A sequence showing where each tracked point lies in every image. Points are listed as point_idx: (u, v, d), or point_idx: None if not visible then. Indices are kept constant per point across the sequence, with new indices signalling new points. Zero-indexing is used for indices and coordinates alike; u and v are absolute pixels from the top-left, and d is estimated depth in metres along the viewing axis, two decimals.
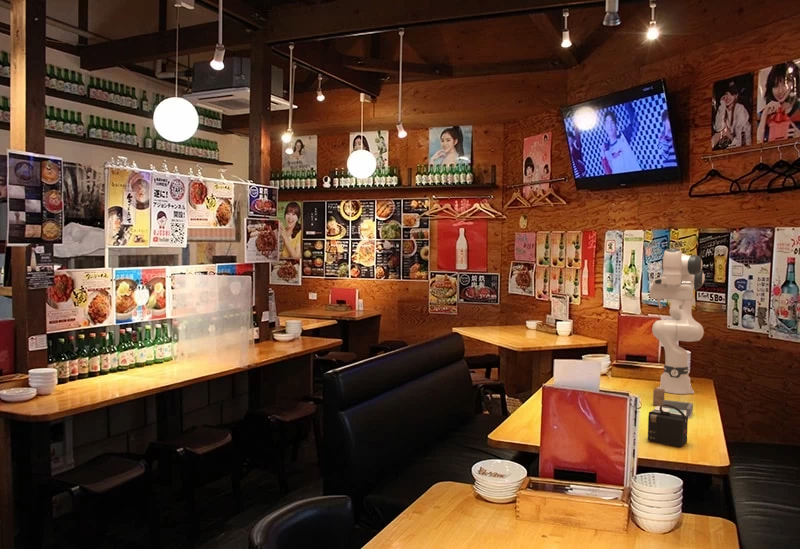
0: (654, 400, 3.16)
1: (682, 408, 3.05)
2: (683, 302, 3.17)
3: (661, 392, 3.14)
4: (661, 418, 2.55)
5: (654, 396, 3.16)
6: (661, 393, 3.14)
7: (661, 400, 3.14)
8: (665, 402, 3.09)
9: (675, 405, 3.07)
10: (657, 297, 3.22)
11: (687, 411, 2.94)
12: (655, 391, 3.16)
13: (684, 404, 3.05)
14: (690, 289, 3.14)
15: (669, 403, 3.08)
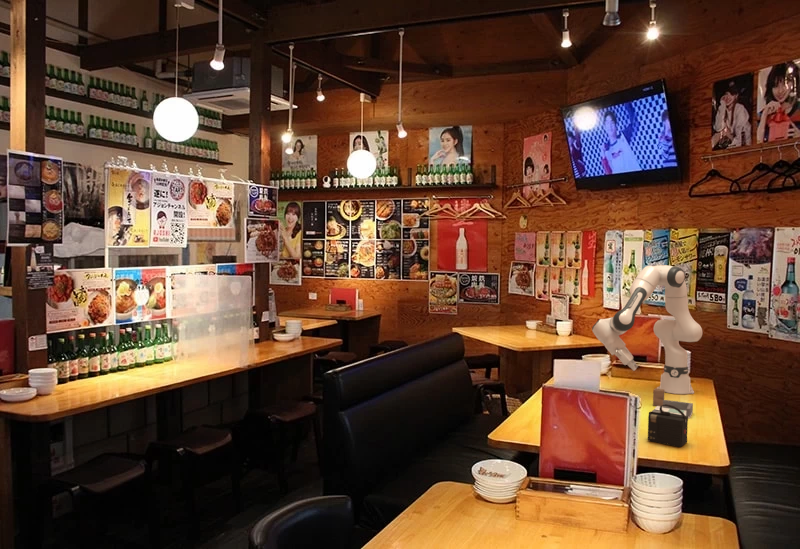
0: (654, 400, 3.16)
1: (682, 408, 3.05)
2: None
3: (661, 392, 3.14)
4: (661, 418, 2.55)
5: (654, 396, 3.16)
6: (661, 393, 3.14)
7: (661, 400, 3.14)
8: (665, 402, 3.09)
9: (675, 405, 3.07)
10: None
11: (687, 411, 2.94)
12: (655, 391, 3.16)
13: (684, 404, 3.05)
14: (617, 356, 3.17)
15: (669, 403, 3.08)
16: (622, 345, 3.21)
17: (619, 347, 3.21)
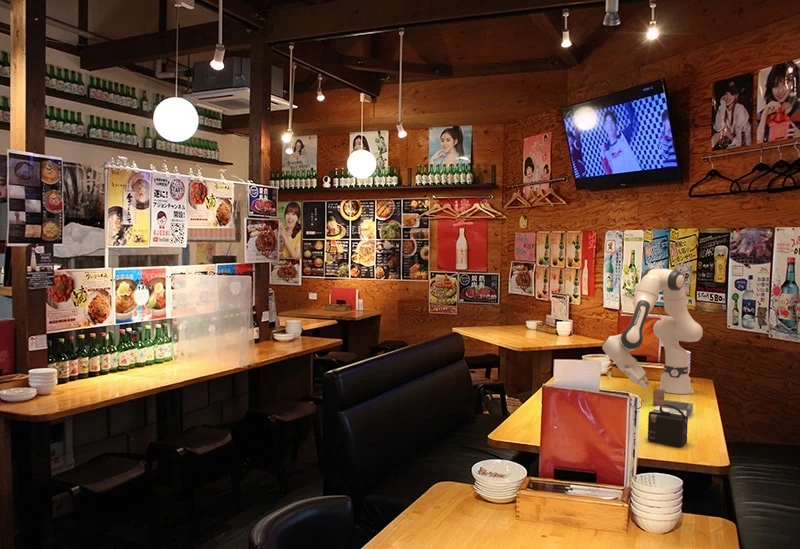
0: (654, 400, 3.16)
1: (682, 408, 3.05)
2: (638, 383, 3.16)
3: (661, 392, 3.14)
4: (661, 418, 2.55)
5: (654, 396, 3.16)
6: (661, 393, 3.14)
7: (661, 400, 3.14)
8: (665, 402, 3.09)
9: (675, 405, 3.07)
10: None
11: (687, 411, 2.94)
12: (655, 391, 3.16)
13: (684, 404, 3.05)
14: None
15: (669, 403, 3.08)
16: (632, 362, 3.20)
17: (629, 365, 3.20)
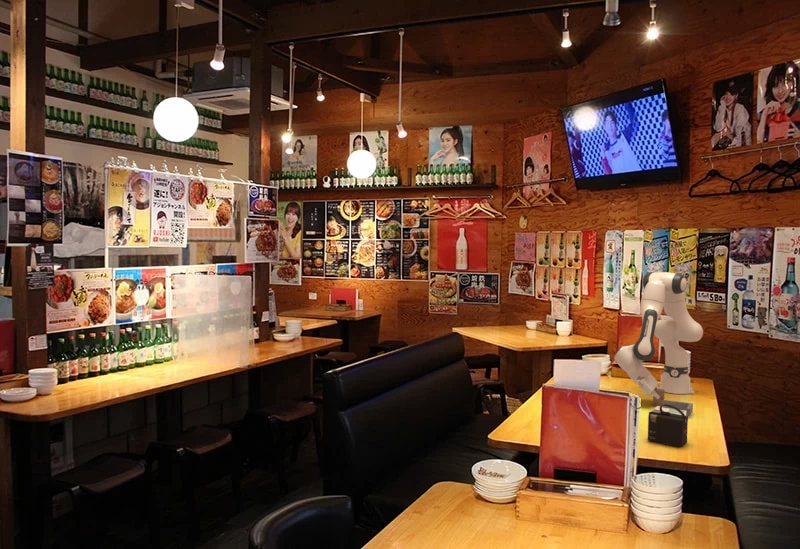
0: (654, 400, 3.16)
1: (682, 408, 3.05)
2: (652, 394, 3.15)
3: (661, 392, 3.14)
4: (661, 418, 2.55)
5: None
6: (661, 393, 3.14)
7: (661, 400, 3.14)
8: (665, 402, 3.09)
9: (675, 405, 3.07)
10: None
11: (687, 411, 2.94)
12: None
13: (684, 404, 3.05)
14: (639, 386, 3.13)
15: (669, 403, 3.08)
16: (645, 373, 3.17)
17: (642, 376, 3.17)
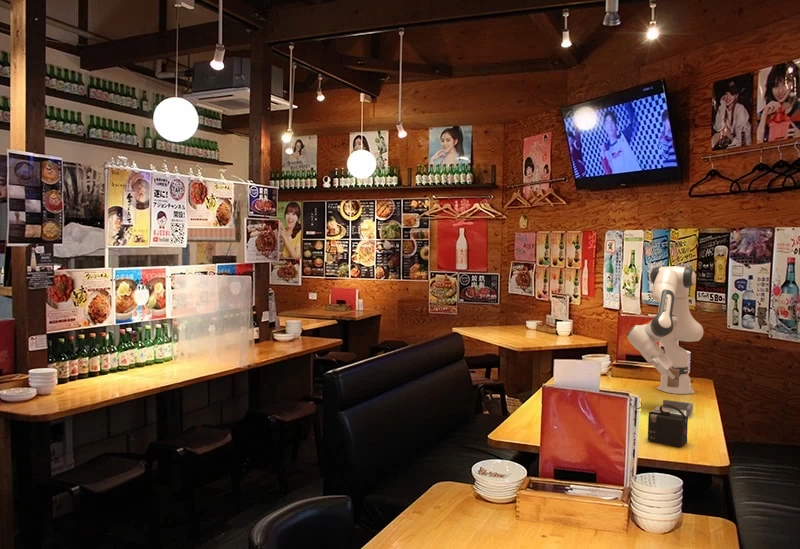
0: (668, 380, 3.03)
1: (682, 408, 3.05)
2: (666, 374, 3.02)
3: (676, 372, 3.01)
4: (661, 418, 2.55)
5: None
6: (676, 372, 3.01)
7: (676, 380, 3.02)
8: (665, 402, 3.09)
9: (675, 405, 3.07)
10: None
11: (687, 411, 2.94)
12: (670, 371, 3.03)
13: (684, 404, 3.05)
14: (653, 365, 3.00)
15: (669, 403, 3.08)
16: (659, 353, 3.04)
17: (656, 355, 3.04)
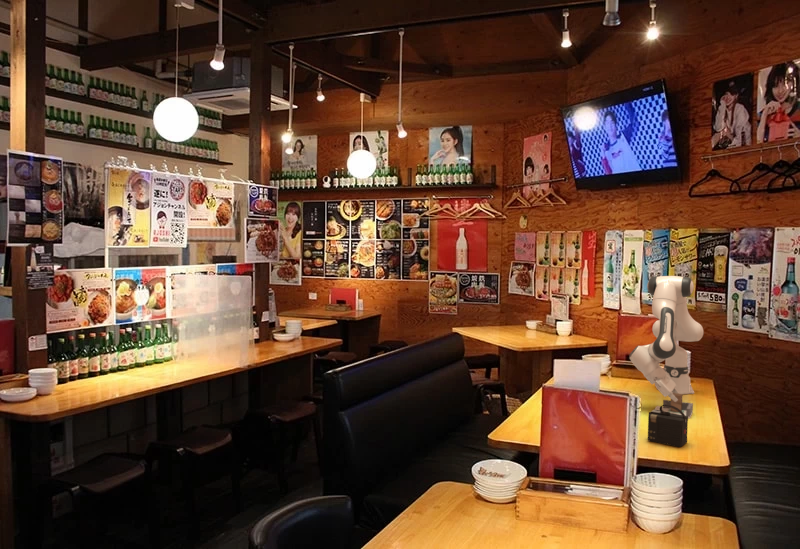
0: (672, 405, 3.01)
1: (682, 408, 3.05)
2: (669, 396, 2.98)
3: (679, 397, 3.00)
4: (661, 418, 2.55)
5: (671, 400, 3.01)
6: (679, 397, 3.00)
7: (679, 405, 3.00)
8: (665, 402, 3.09)
9: None
10: None
11: (687, 411, 2.94)
12: None
13: (684, 404, 3.05)
14: (656, 387, 2.98)
15: (669, 403, 3.08)
16: (662, 374, 3.02)
17: (659, 376, 3.02)
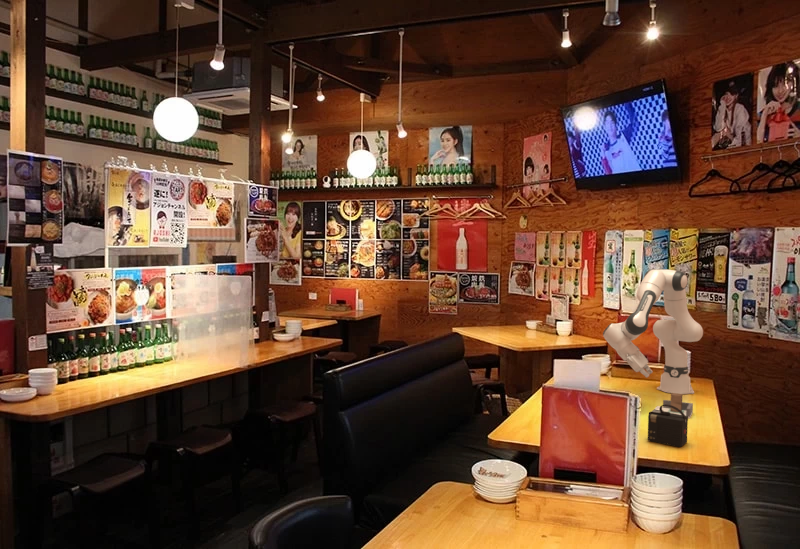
0: (672, 405, 3.01)
1: (682, 408, 3.05)
2: (640, 372, 3.04)
3: (679, 397, 3.00)
4: (661, 418, 2.55)
5: (671, 400, 3.01)
6: (679, 397, 3.00)
7: (679, 405, 3.00)
8: (665, 402, 3.09)
9: None
10: None
11: (687, 411, 2.94)
12: (673, 396, 3.01)
13: (684, 404, 3.05)
14: (628, 363, 3.04)
15: (669, 403, 3.08)
16: (634, 351, 3.08)
17: (631, 353, 3.08)
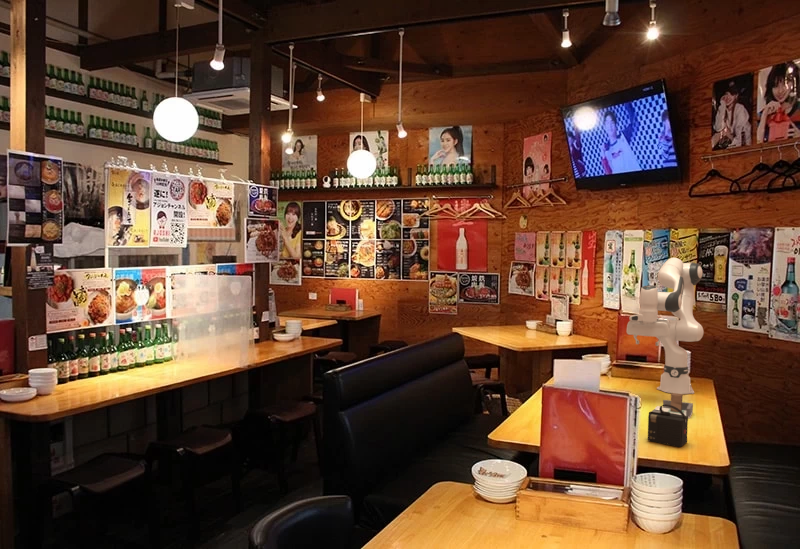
0: (672, 405, 3.01)
1: (682, 408, 3.05)
2: (659, 339, 3.20)
3: (679, 397, 3.00)
4: (661, 418, 2.55)
5: (671, 400, 3.01)
6: (679, 397, 3.00)
7: (679, 405, 3.00)
8: (665, 402, 3.09)
9: None
10: (634, 333, 3.25)
11: (687, 411, 2.94)
12: (673, 396, 3.01)
13: (684, 404, 3.05)
14: (666, 326, 3.17)
15: (669, 403, 3.08)
16: None
17: None
